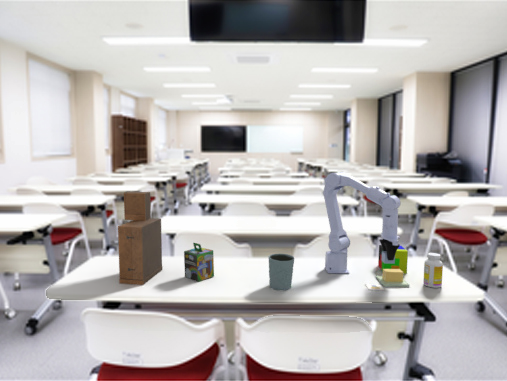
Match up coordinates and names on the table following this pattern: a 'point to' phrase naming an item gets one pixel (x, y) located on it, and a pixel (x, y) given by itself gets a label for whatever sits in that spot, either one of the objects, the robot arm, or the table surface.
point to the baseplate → (392, 283)
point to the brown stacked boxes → (139, 241)
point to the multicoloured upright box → (199, 263)
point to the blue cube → (384, 258)
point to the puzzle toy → (400, 260)
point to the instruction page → (375, 287)
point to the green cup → (280, 271)
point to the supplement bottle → (433, 270)
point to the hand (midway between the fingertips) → (388, 258)
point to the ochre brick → (392, 275)
